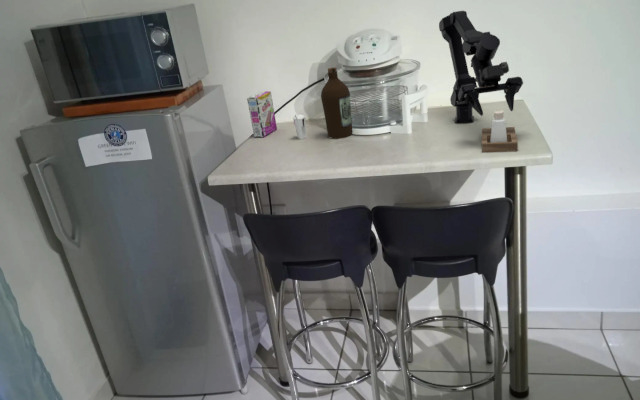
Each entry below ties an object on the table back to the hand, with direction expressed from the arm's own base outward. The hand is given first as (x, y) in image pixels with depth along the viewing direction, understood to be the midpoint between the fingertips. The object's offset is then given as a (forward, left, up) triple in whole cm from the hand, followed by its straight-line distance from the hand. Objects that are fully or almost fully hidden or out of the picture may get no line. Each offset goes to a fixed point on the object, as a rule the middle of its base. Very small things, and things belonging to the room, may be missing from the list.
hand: (497, 112), depth 148 cm
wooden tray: (-2, +1, -10) cm, 10 cm away
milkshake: (-17, -70, -10) cm, 73 cm away
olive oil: (-19, -55, -10) cm, 59 cm away
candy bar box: (-25, -89, -10) cm, 93 cm away
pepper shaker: (+1, 0, -10) cm, 10 cm away
